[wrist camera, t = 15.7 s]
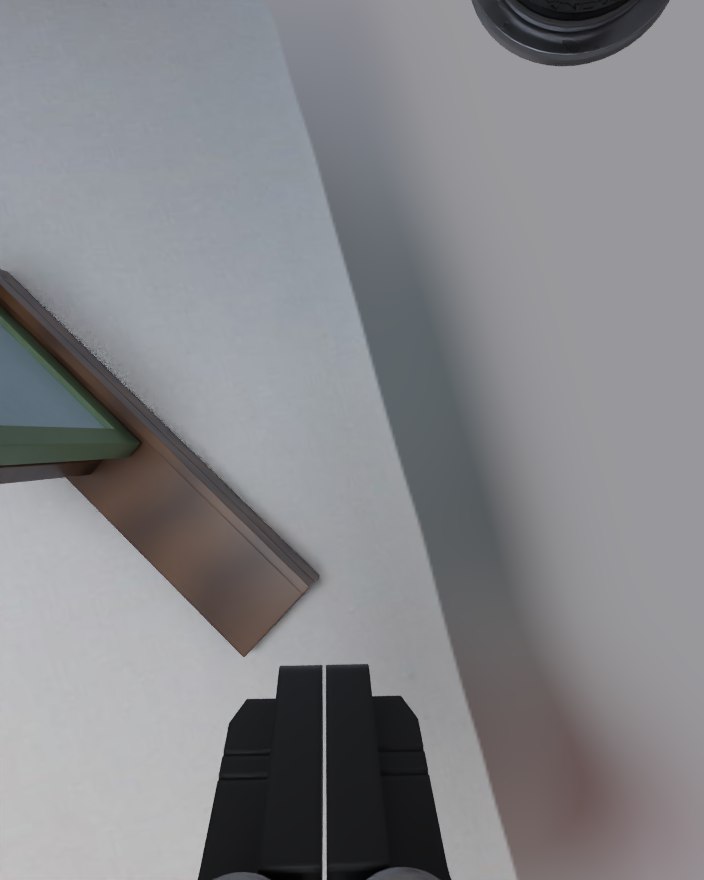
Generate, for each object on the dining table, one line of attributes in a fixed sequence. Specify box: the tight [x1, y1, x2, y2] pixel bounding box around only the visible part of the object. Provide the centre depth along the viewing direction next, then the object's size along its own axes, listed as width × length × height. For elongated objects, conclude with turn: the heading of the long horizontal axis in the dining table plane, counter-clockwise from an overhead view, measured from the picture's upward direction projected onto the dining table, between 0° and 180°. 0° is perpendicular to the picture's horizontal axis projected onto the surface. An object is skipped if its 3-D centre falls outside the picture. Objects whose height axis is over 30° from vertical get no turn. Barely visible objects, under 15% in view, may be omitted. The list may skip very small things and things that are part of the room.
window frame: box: [0, 269, 319, 657], centre depth 29 cm, size 27×6×17 cm, turn 47°
